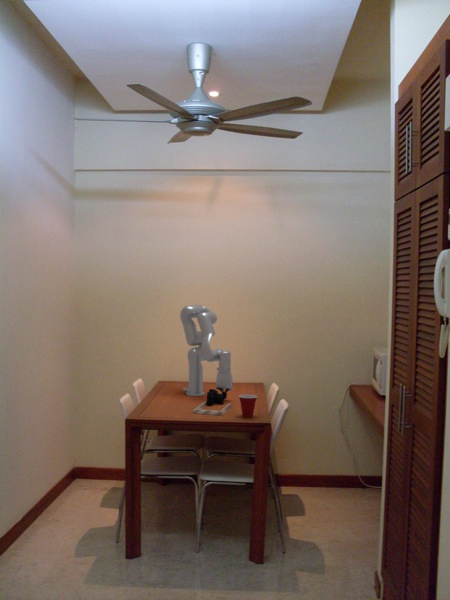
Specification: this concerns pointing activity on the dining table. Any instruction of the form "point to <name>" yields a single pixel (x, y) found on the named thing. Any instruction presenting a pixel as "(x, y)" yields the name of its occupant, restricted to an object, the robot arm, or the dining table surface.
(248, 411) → the plastic cup
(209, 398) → the film camera
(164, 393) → the dining table surface
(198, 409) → the camera rest
